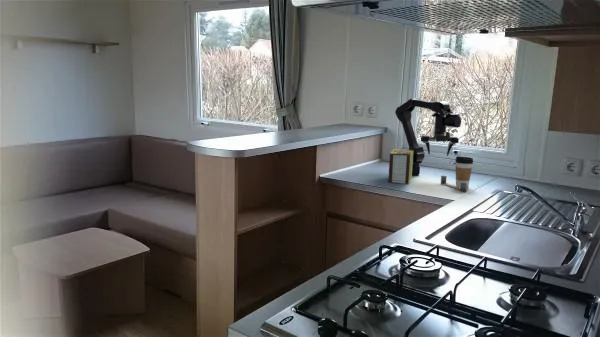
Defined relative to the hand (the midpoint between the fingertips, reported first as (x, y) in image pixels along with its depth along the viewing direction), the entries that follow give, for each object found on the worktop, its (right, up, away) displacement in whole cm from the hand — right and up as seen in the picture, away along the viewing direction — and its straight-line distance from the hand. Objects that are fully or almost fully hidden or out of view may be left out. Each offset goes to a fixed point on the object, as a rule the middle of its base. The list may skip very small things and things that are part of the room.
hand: (438, 155), depth 244 cm
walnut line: (+3, -16, -15) cm, 23 cm away
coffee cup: (+8, -16, -13) cm, 22 cm away
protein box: (-20, -13, -1) cm, 25 cm away
